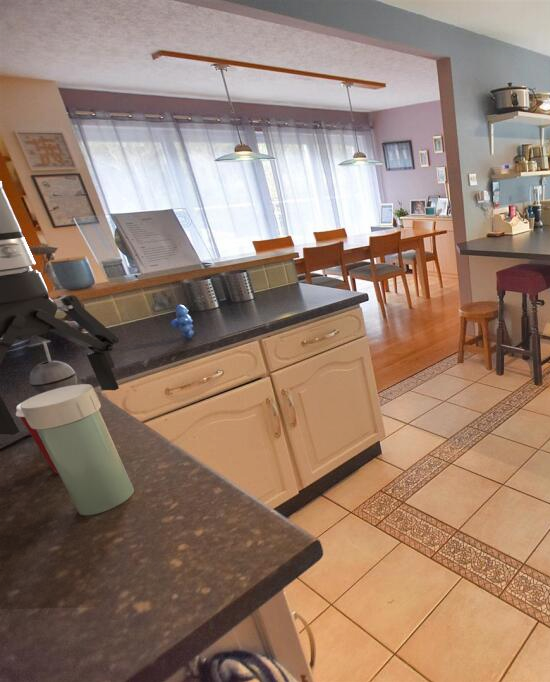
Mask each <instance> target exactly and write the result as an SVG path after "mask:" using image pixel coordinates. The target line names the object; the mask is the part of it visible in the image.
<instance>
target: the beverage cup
mask: <svg viewBox="0 0 550 682" xmlns="http://www.w3.org/2000/svg"><path fill="white" fill-rule="evenodd" d="M42 345H43V349H44V352H45V355H46V359H47V361H43V362H40V363H38V364H37V365H35V366H34V367H33V368H32V370H31V371H30V373H29V383H30V387H32V388H33V390H34V391H35V392H36V393H37V394H41V393H44V392H47V391H50V390H54V389H57V388H61V387H66V386H71V385H78V378H77V372H76V371H75V370H74V369H73V368H72V367H71V366H70V365H69V364H68V363H66V362H63V361H60V360H52V358H51V354H50V352H49V351H50V350H49V347H48V345H47V340H42Z"/></svg>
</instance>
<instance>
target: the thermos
mask: <svg viewBox="0 0 550 682" xmlns="http://www.w3.org/2000/svg"><path fill="white" fill-rule="evenodd" d="M36 430H37V432H38V434H39V436H40V438H41V440H42V442H43V444H44V446H45V448H46V450H47V452H48V454H49V456H50V458H51V460H52V462H53V464H54V466H55V468H56V470H57V472H58V473H57V474H58V476H59V478H60V479H61V481H62V483H63V485H64V487H65V489H66V492H67V493H68V495H69V497H70V499H71V501H72V504H73V506H74V507H75V510H76V511H77V513H78V514H79V515H81V516H92V515H93V516H94V515H98V514H101V513H104V512H106V511H109V510H112V509H114V508H116V507H118V506H119V505H121V504H123V503H124V502H126V501H127V500H129V499H130V498H131V496H132V495H133V494H134V493H135V488H134V486H133V483H132V481H131V479H130V476H129V475H128V472H127V470H126V467H125V465H124V463H123V461H122V459H121V456H120V454H119V452H118V449H117V447H116V445H115V442H114V441H113V438H112V436H111V434H110V431H109V429H108V427H107V424H106V422H105V420H104V417H103V415H102V413H101V411H100V409H99V410H97V411H96V412H95V413H93V414H91V415H89V416H87V417H85V418H83V419H80V420H78V421H75V422H72V423H69V424H65V425H62V426H58V427H53V428H47V429H36Z"/></svg>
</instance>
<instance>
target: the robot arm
mask: <svg viewBox="0 0 550 682" xmlns="http://www.w3.org/2000/svg"><path fill="white" fill-rule="evenodd" d="M35 265H36V261H35V259H34V257H33V254H32V252H31V250H30V248H29V246H28V244H27V241H26V239H25V237H24V235H23V233H22V229H21V226H20V224H19V222H18V219H17V217H16V215H15V213H14V210H13V208H12V205H11V204H10V201H9V199H8V197H7V194H6V192H5V189H4V187H3V182H2V180H0V366H1V365H2V363H3V360H4V359H5V357H6V355H7V352H8V350H9V349H10V348H11V347H12V346H13V345H14V344H15V341H23V340H26V339H30V338H31V337H34V336H37V335H40V336H41V335H45V334H48V332H50V333H53V334H55V335H58V336H59V337H61V338H64V339H66V340H68V341H70V342H72V343H75V344H77V345H79V346H82V347H83V348H85V349H86V350H90V351H91V352H89V353H87V354H86V356H87V359H88V361H89V363H90V366H91V368H92V370H93V373H94V375H95V377H96V380H97V383H98V384H99V386H100V389H101V391H116V390H119V389H120V387H119V384H118V382H117V380H116V377H115V375H114V373H113V370H112V369H115V362H114V360H113V358H112V355H111V351H113V349H114V346H113V345H116V344H118V343H119V342H120V339H119V337H118V336H117V335H116V334H114V333H113V332H112V331H111V330H110V329H108V327H106V326H105V325H104V324H103V323H102V322H100V321H99V320H98V319H97V318H96V317H95V316H93V315H92V314H91V313H90V312H89V311H87V310H86V309H85V308H84V307H83V305H82V304H81V302H80V300H79V299H78V297H77V295H75V294H66V295H65V294H63V295H58V296H57V297H56V298H55V299H51V297H50V296H49V289H48V288H47V285H46V283H45V280H44V278H43V276H42V274H41V271H38V270H37V269H32V267H34V266H35ZM58 310H59V311H61V312H64V314H66V315H67V316H68V318H70V319H72V320H73V321H74V322H75V323H76V324H77V325H79V326H80V327H81V328H82V329H84V330H85V331H86V332H87V333H88V334H87V333H85V332H83V331H81V330H79V329H77V328H75V327H73V326H71V325H69V323H68V322H66V321H63V320H62V319H60V318H58V317H55V316H56V314H57V311H58ZM20 432H21V431H20V430H19V428H18V425H17V424H16V422H15V420H14V418H13V417H12V415H11V413H10V410H9V408H8V407H7V405H6V403H5V401H4V399H3V397H2V396H1V395H0V435H12V436H13V435H16V434H19V433H20Z"/></svg>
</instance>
